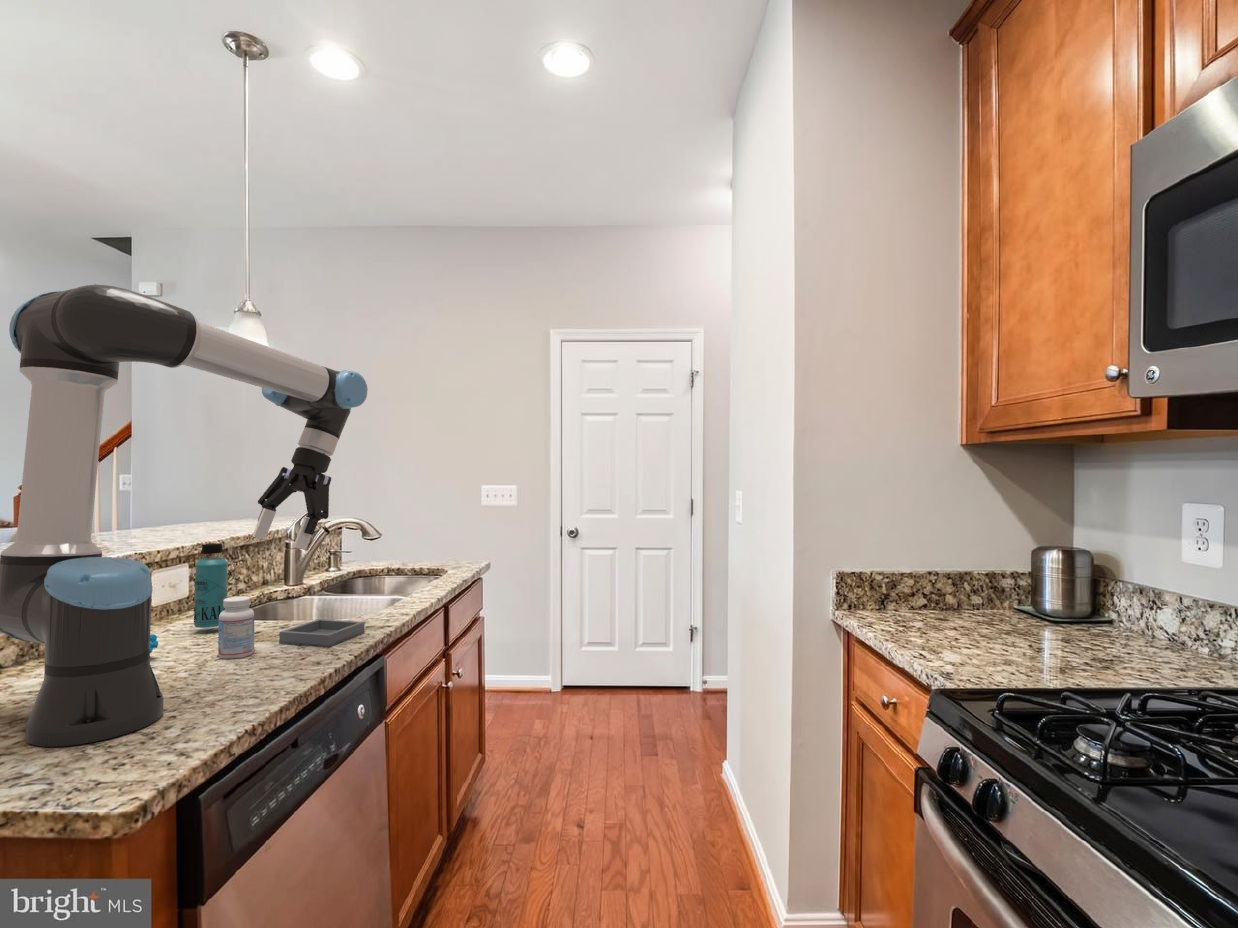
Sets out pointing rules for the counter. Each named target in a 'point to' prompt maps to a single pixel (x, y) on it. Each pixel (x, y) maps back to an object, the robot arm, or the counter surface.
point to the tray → (322, 633)
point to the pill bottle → (236, 628)
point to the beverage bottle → (210, 587)
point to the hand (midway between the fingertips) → (278, 543)
